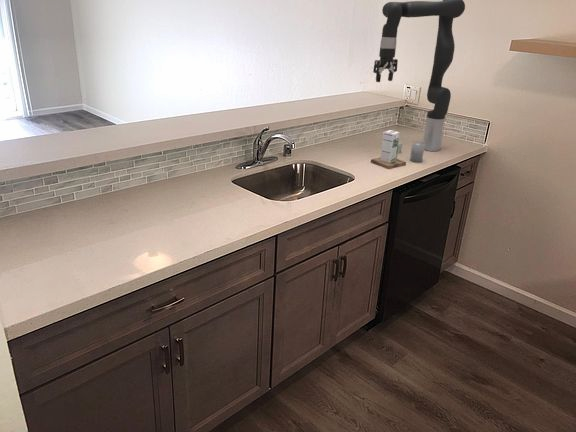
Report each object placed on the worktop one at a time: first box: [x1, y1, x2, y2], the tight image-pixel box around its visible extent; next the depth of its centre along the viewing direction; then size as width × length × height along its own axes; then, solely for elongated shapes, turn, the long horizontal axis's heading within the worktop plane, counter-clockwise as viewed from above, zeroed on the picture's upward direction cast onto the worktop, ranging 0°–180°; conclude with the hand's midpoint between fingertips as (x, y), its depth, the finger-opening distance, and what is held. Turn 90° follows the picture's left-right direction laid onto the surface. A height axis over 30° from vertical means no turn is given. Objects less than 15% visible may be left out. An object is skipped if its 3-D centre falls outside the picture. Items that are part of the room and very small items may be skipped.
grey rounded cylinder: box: [409, 141, 425, 164], centre depth 238 cm, size 6×6×9 cm
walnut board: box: [370, 156, 407, 170], centre depth 234 cm, size 12×12×2 cm
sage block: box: [397, 141, 403, 155], centre depth 252 cm, size 5×5×5 cm
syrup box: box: [380, 129, 400, 163], centre depth 231 cm, size 6×6×14 cm
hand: (384, 81), depth 238 cm, fingers open, 8 cm apart
